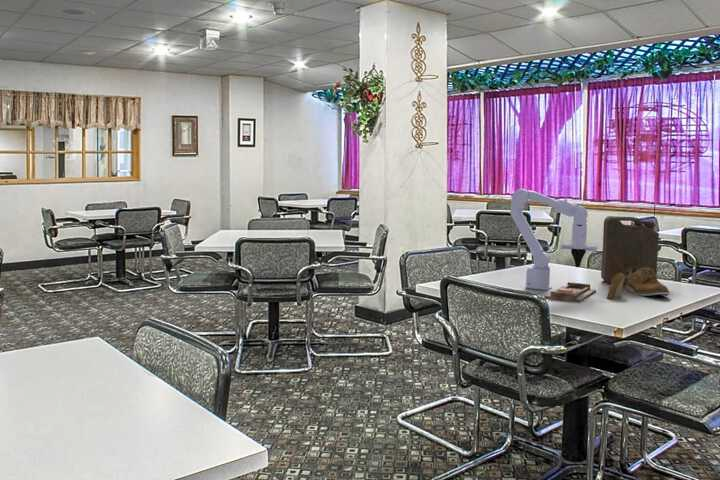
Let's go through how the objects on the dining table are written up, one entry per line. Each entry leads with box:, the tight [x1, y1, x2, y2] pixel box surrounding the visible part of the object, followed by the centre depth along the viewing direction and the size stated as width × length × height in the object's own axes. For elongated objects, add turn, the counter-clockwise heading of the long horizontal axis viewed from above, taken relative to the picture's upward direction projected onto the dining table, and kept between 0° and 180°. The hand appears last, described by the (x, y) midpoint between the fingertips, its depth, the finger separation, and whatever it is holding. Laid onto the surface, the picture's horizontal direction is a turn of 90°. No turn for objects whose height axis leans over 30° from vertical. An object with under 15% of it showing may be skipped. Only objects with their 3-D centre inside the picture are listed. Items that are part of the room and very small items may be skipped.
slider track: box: [544, 281, 597, 303], centre depth 272 cm, size 14×26×3 cm, turn 148°
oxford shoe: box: [626, 266, 670, 297], centre depth 277 cm, size 28×10×11 cm, turn 3°
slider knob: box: [557, 287, 573, 293], centre depth 264 cm, size 5×4×2 cm
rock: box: [606, 273, 625, 300], centre depth 269 cm, size 11×9×10 cm
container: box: [600, 215, 660, 285], centre depth 300 cm, size 22×10×30 cm, turn 81°
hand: (577, 266), depth 281 cm, fingers closed
